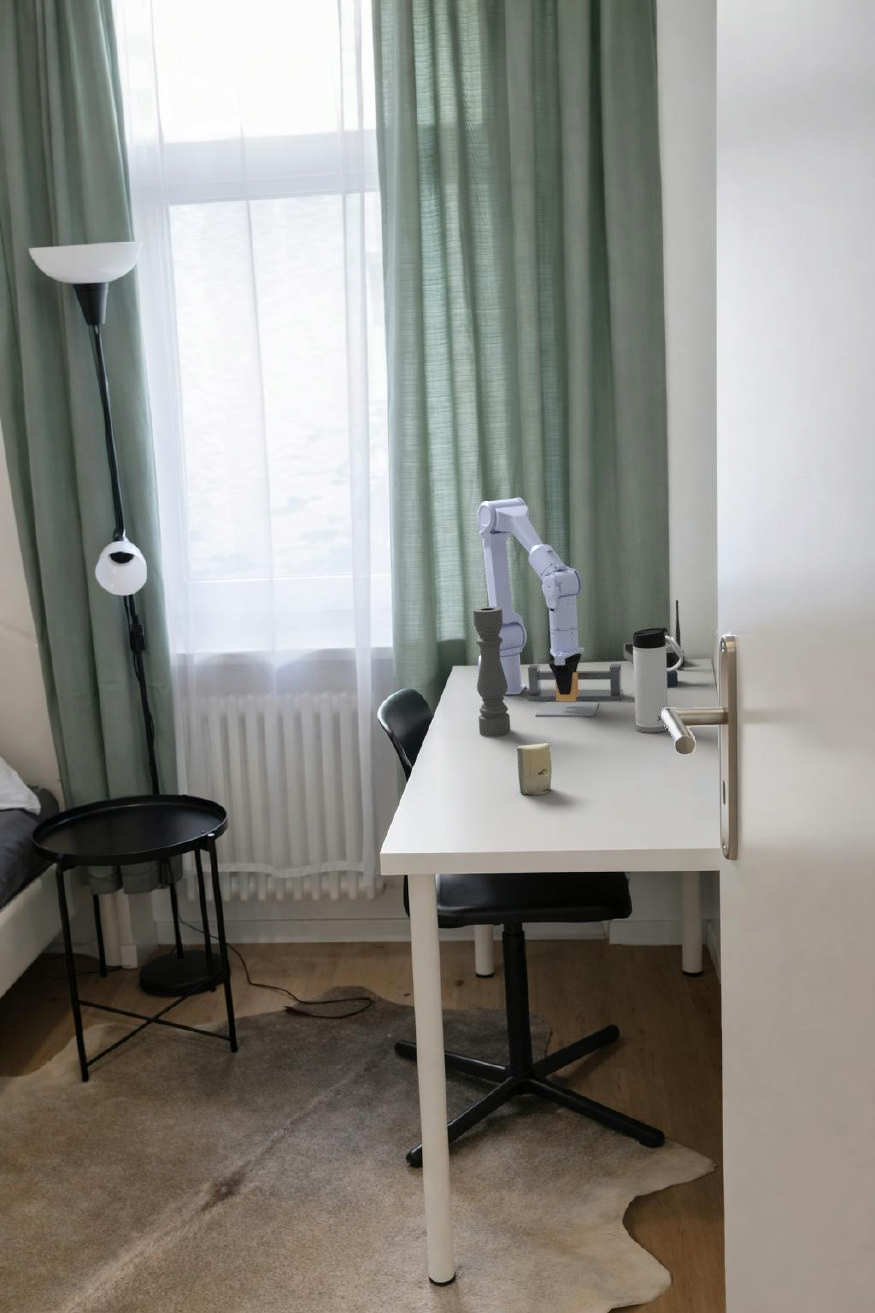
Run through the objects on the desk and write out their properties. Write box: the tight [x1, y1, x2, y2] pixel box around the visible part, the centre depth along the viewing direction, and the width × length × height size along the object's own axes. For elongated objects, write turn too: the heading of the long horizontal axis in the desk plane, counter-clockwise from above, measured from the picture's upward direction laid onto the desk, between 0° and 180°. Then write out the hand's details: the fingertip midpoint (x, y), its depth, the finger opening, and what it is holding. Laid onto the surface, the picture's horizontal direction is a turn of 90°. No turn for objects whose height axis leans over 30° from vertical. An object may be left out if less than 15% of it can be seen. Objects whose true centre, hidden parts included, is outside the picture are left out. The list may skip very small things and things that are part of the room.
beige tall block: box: [516, 742, 553, 796], centre depth 187 cm, size 6×5×8 cm
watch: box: [665, 635, 685, 688], centre depth 253 cm, size 6×8×11 cm
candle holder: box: [472, 606, 511, 737], centre depth 223 cm, size 6×6×25 cm
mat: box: [535, 701, 600, 717], centre depth 238 cm, size 12×10×1 cm
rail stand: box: [527, 663, 623, 702], centre depth 247 cm, size 20×6×7 cm, turn 74°
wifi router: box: [622, 599, 685, 671], centre depth 274 cm, size 20×14×17 cm
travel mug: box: [632, 626, 669, 734], centre depth 217 cm, size 6×7×20 cm
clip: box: [554, 672, 579, 702], centre depth 237 cm, size 4×4×5 cm
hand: (566, 691), depth 237 cm, fingers closed on clip, 4 cm apart
